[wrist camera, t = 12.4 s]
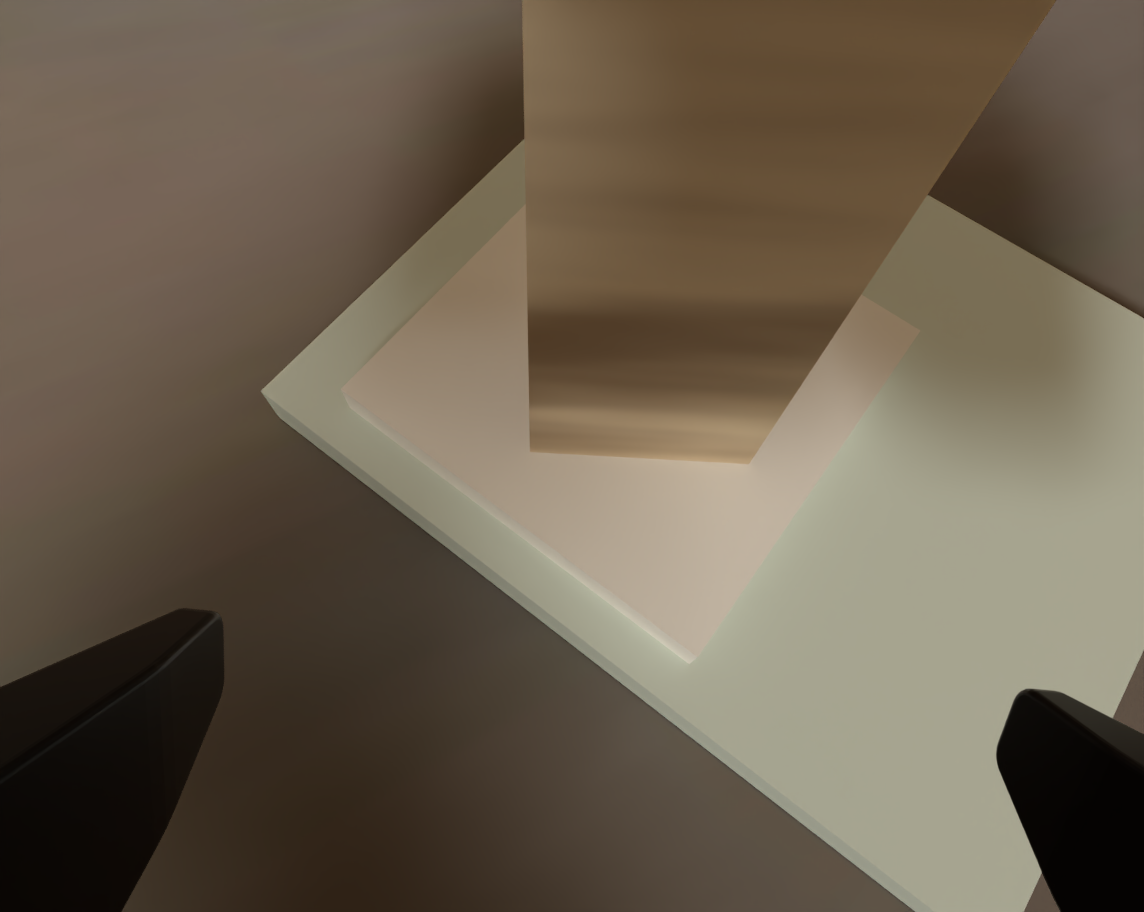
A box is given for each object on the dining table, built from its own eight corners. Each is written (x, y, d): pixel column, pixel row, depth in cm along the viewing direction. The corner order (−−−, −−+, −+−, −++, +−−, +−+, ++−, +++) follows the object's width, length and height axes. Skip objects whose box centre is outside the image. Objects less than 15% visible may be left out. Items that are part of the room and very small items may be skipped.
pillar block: (748, 464, 18) (1160, -156, 6) (529, 452, 18) (518, -202, 6) (740, 280, 20) (1042, -465, 8) (542, 268, 20) (552, -505, 8)
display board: (1218, 411, 22) (1297, 368, 20) (962, 948, 17) (1029, 973, 15) (633, 69, 26) (642, -1, 24) (278, 417, 21) (246, 371, 19)
